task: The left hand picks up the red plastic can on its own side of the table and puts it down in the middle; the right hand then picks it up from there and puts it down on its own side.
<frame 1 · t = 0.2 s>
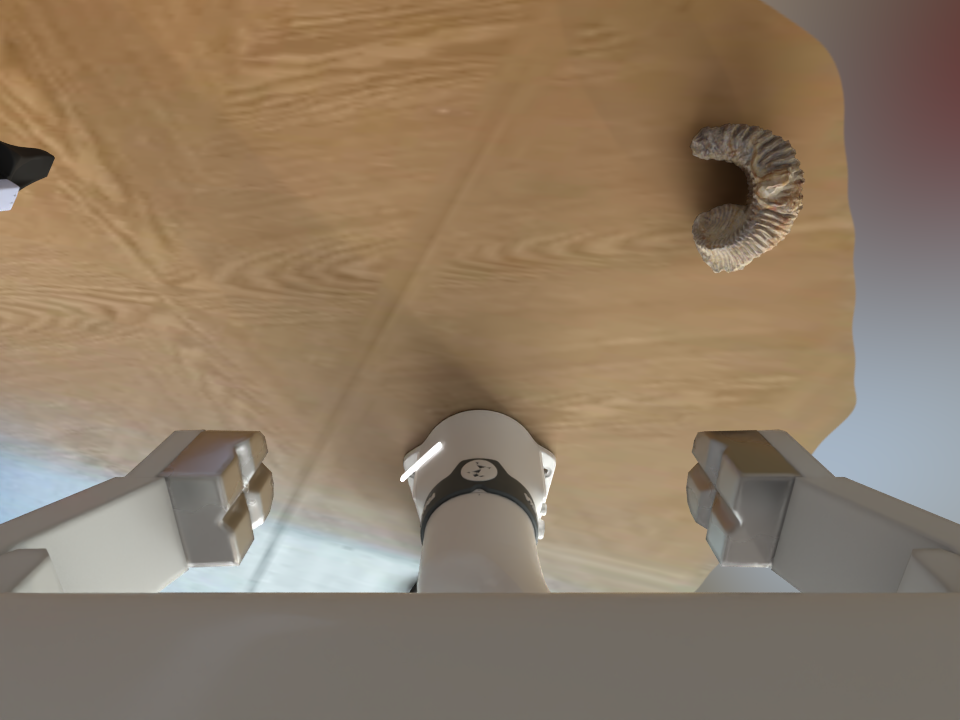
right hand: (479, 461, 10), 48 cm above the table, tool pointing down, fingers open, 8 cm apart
seashell: (721, 199, 54), on the table
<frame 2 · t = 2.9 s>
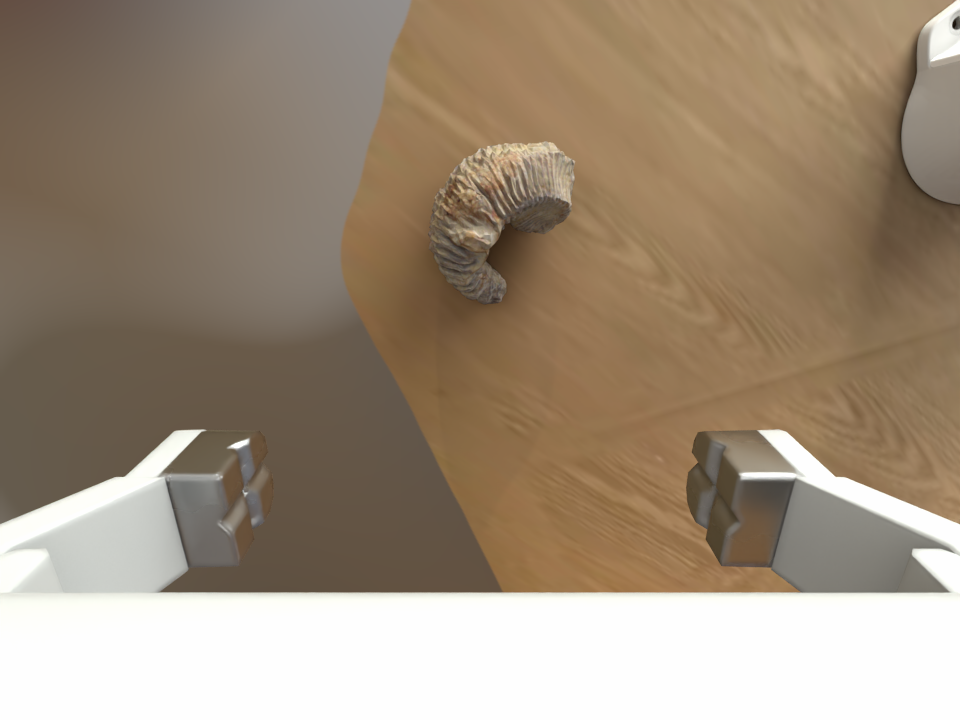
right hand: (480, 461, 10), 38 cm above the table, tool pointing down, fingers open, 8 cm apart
seashell: (504, 215, 45), on the table
when the left hand's fingers open (3 cm above the table, at t = 7.8 s): can drops 1 cm, on the table.
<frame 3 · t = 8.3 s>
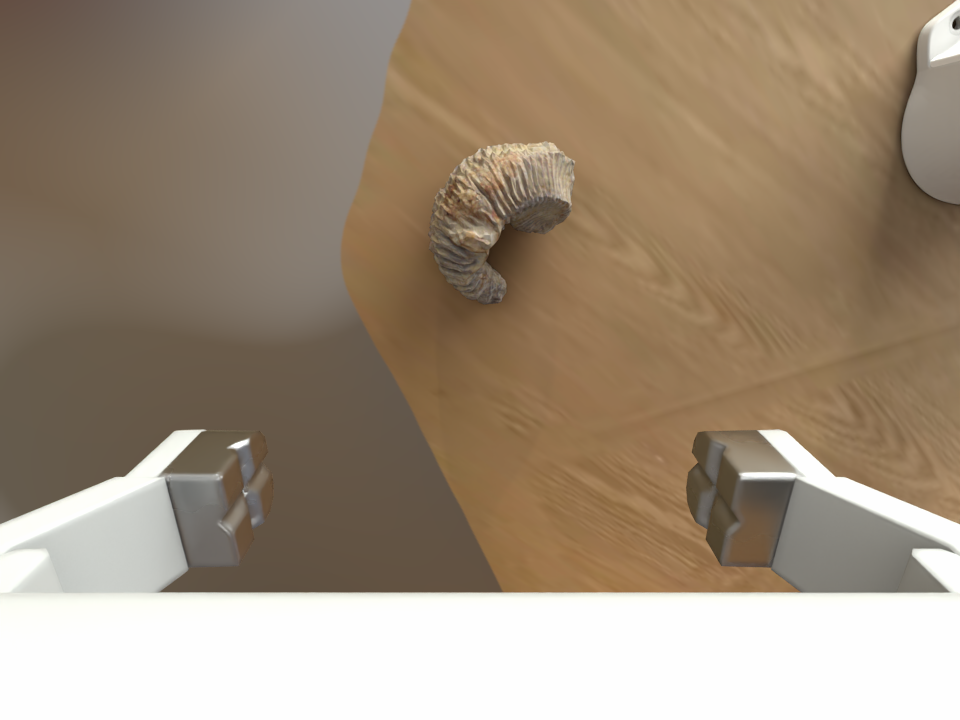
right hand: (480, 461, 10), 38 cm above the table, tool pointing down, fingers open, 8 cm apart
seashell: (504, 215, 45), on the table
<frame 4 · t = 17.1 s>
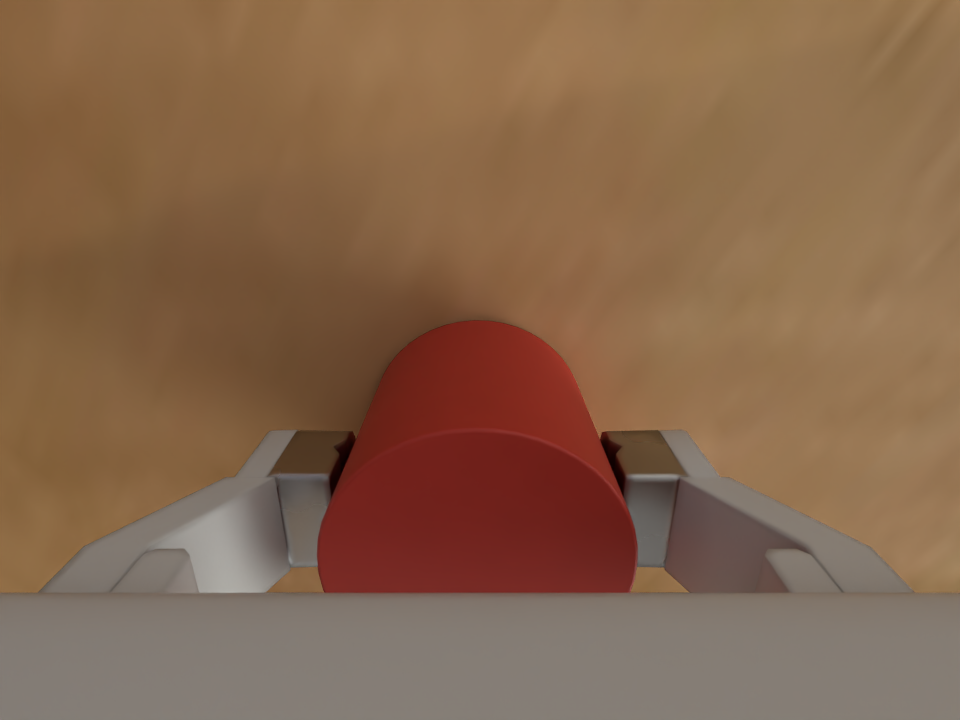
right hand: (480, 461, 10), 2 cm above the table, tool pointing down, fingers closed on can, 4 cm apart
can: (478, 417, 12), on the table, touching right hand
when the right hand's fingers open (3 cm above the table, at t = 25.1 s): can drops 1 cm, on the table.
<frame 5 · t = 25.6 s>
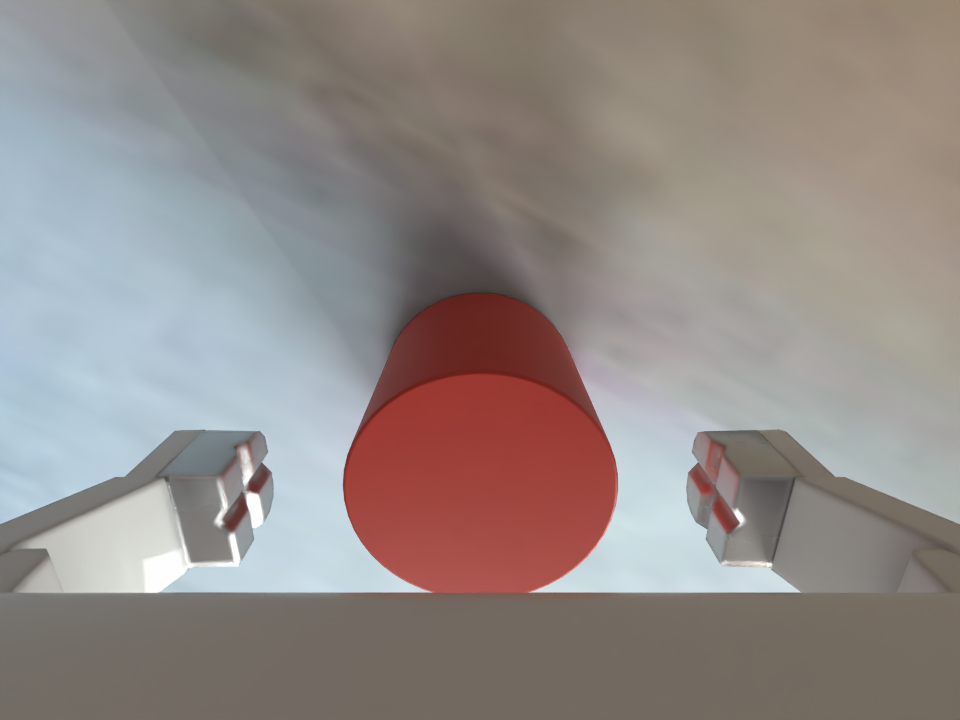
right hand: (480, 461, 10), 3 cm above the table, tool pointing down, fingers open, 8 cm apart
can: (479, 382, 13), on the table
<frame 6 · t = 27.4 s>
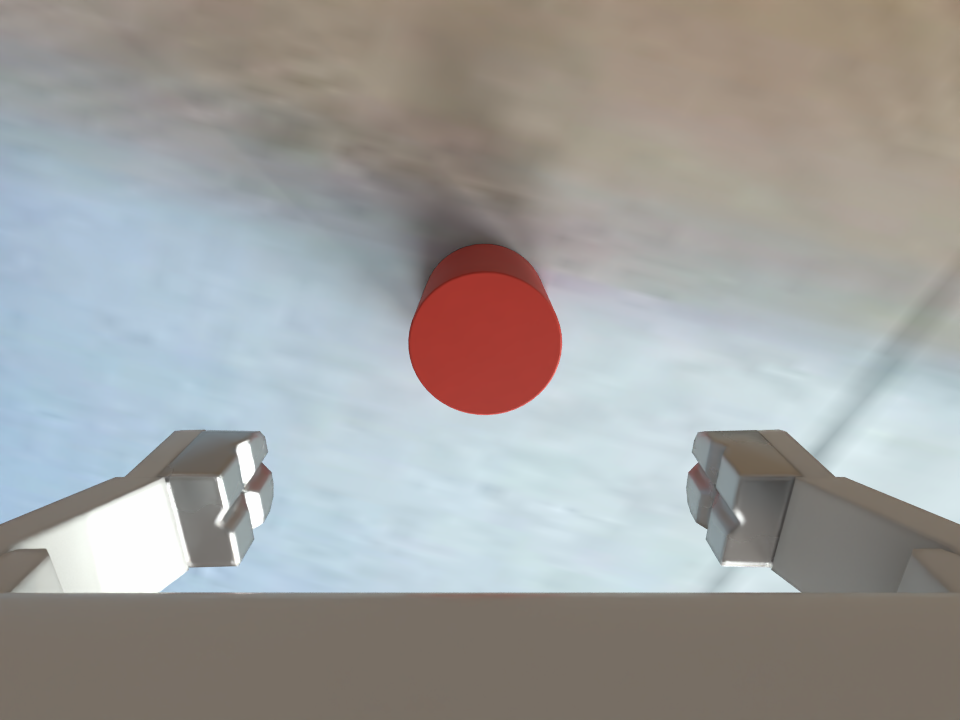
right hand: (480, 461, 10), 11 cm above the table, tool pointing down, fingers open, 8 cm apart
can: (484, 304, 20), on the table
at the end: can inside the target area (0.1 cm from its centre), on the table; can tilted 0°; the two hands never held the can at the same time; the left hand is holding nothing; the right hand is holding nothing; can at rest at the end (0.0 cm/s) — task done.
